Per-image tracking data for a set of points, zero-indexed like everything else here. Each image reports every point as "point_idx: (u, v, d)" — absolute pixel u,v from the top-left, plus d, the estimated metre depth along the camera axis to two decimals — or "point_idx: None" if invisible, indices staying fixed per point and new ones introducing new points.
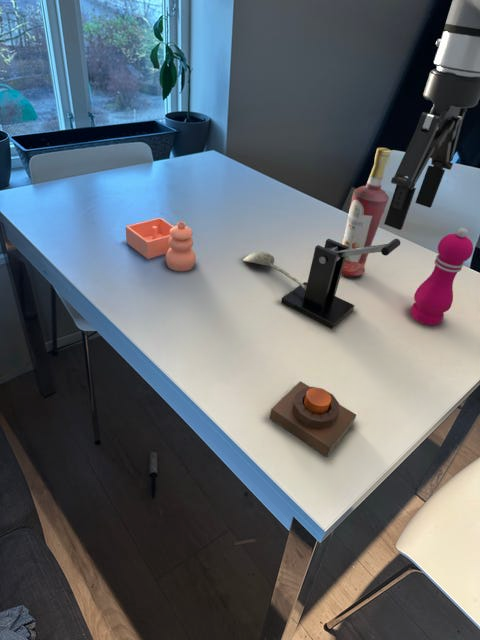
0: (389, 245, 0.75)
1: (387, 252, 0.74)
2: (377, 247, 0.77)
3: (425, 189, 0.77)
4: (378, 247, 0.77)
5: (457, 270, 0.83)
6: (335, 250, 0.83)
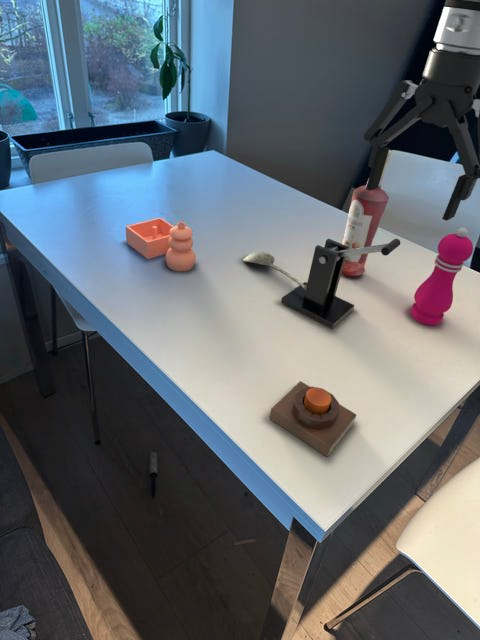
0: (389, 245, 0.75)
1: (387, 252, 0.74)
2: (377, 247, 0.77)
3: (377, 173, 0.73)
4: (378, 247, 0.77)
5: (457, 270, 0.83)
6: (335, 250, 0.83)
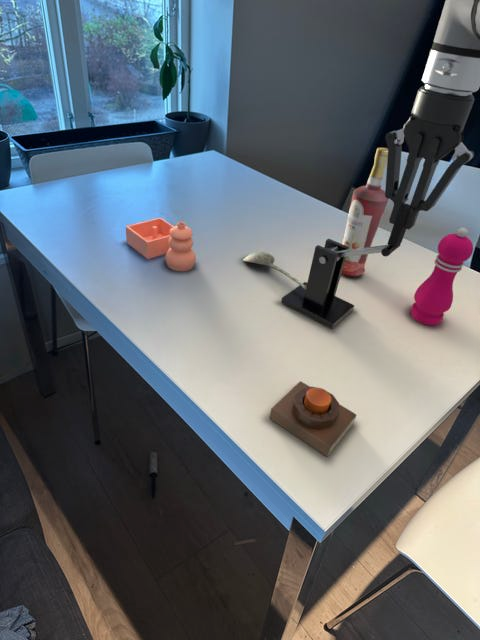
0: (389, 246, 0.75)
1: (387, 253, 0.74)
2: (377, 248, 0.77)
3: None
4: (378, 248, 0.77)
5: (457, 270, 0.83)
6: (335, 250, 0.83)
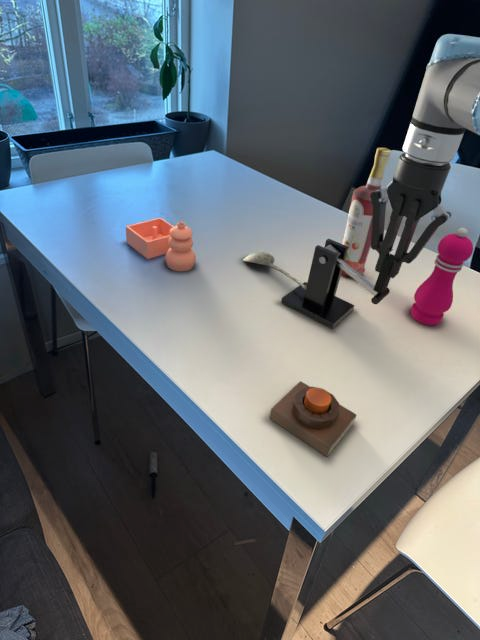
0: (381, 297, 0.80)
1: (376, 303, 0.80)
2: (371, 287, 0.81)
3: None
4: (371, 288, 0.81)
5: (457, 270, 0.83)
6: None
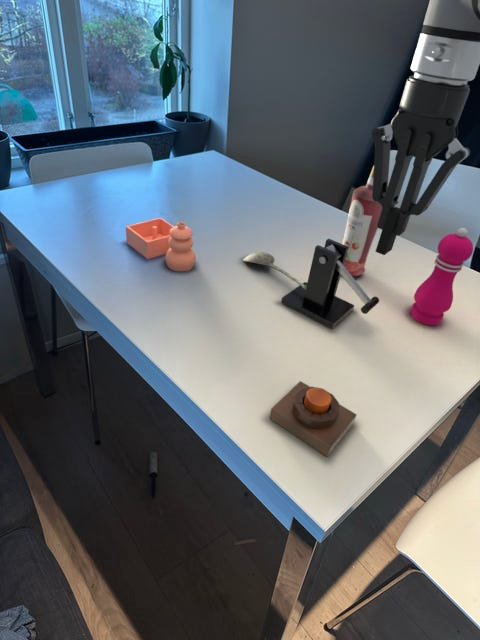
0: (371, 308, 0.82)
1: (365, 312, 0.82)
2: (363, 296, 0.83)
3: None
4: (363, 297, 0.83)
5: (457, 270, 0.83)
6: (337, 258, 0.84)
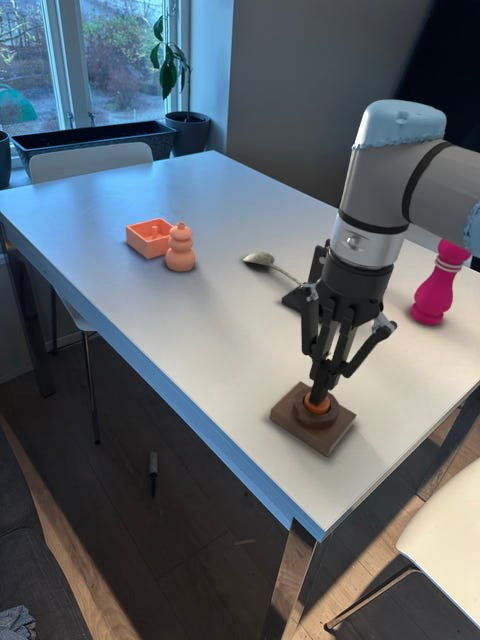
0: None
1: None
2: None
3: None
4: None
5: (457, 270, 0.83)
6: None
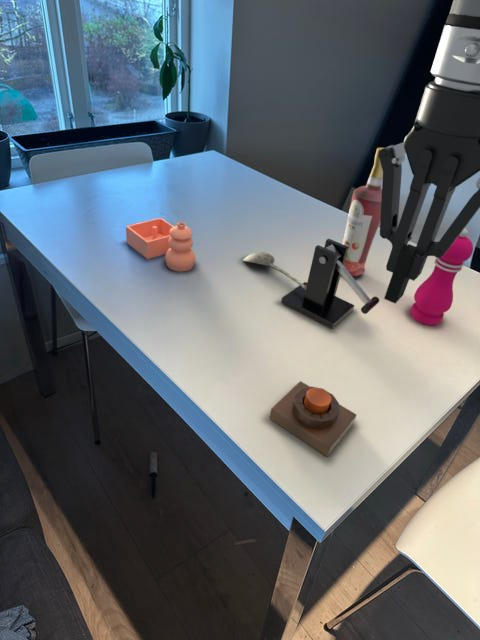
0: (371, 308, 0.82)
1: (365, 312, 0.82)
2: (363, 296, 0.83)
3: None
4: (363, 297, 0.83)
5: (457, 270, 0.83)
6: (337, 258, 0.84)
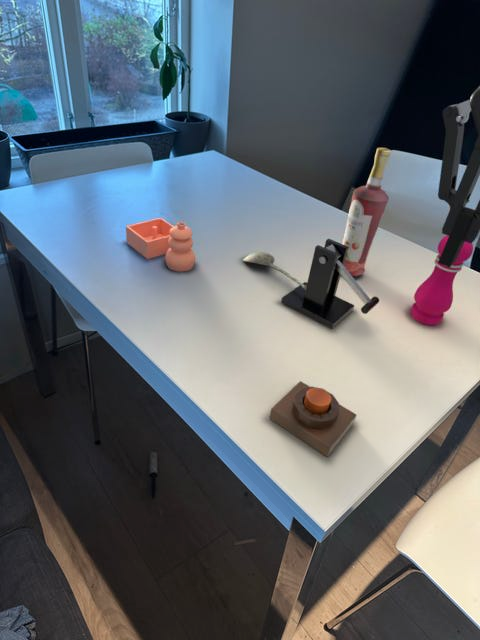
0: (371, 308, 0.82)
1: (365, 312, 0.82)
2: (363, 296, 0.83)
3: None
4: (363, 297, 0.83)
5: (457, 270, 0.83)
6: (337, 258, 0.84)
